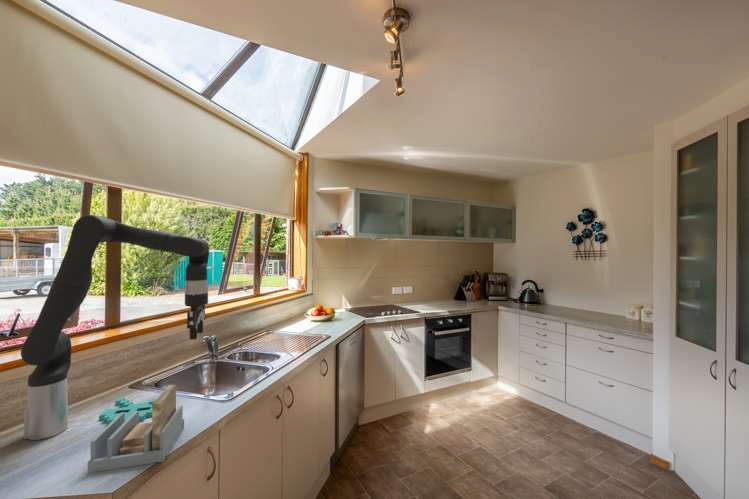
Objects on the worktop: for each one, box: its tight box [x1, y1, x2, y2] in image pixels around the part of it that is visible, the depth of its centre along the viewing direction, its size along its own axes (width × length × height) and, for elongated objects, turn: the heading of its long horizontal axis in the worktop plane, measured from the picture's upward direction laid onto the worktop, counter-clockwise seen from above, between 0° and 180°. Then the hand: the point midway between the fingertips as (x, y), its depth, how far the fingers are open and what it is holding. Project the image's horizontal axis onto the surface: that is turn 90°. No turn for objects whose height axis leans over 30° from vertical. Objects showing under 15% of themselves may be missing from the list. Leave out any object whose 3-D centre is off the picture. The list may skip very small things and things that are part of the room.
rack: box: [87, 405, 185, 474], centre depth 97 cm, size 18×18×8 cm
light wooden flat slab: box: [151, 384, 177, 451], centre depth 99 cm, size 2×13×16 cm, turn 14°
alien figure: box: [98, 397, 157, 426], centre depth 119 cm, size 20×2×20 cm
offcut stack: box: [120, 421, 152, 455], centre depth 97 cm, size 6×12×5 cm, turn 13°
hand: (196, 335), depth 116 cm, fingers open, 8 cm apart
